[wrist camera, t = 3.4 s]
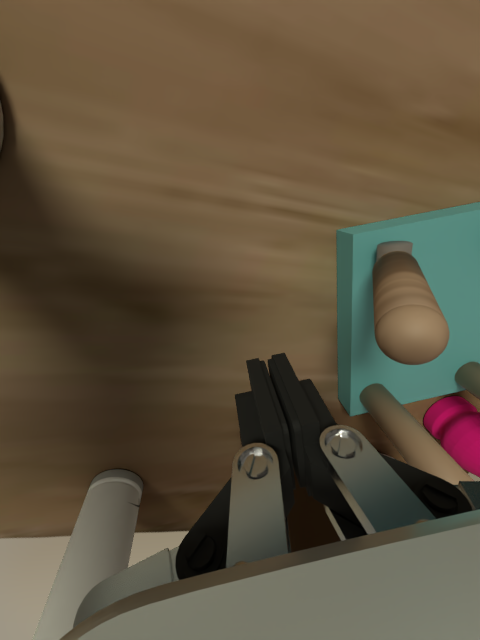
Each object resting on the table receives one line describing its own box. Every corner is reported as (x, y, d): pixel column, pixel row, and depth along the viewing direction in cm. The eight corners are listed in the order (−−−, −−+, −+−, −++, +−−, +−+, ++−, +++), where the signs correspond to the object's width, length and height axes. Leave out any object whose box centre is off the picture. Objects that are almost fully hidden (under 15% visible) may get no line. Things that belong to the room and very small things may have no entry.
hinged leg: (372, 242, 23) (376, 318, 12) (415, 239, 21) (464, 320, 10) (371, 277, 24) (373, 374, 13) (411, 275, 23) (450, 382, 12)
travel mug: (154, 476, 35) (106, 776, 17) (127, 505, 37) (57, 807, 19) (108, 459, 33) (-4, 784, 15) (81, 491, 34) (-48, 818, 16)
